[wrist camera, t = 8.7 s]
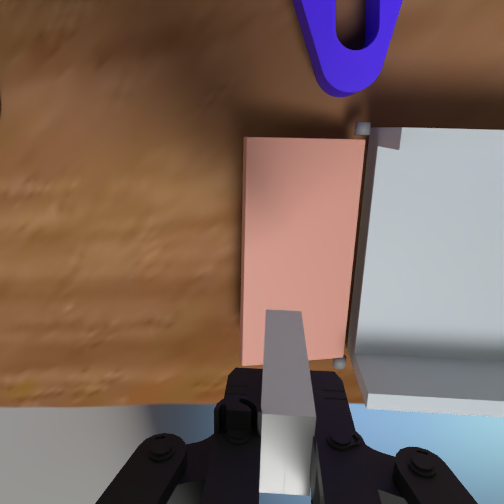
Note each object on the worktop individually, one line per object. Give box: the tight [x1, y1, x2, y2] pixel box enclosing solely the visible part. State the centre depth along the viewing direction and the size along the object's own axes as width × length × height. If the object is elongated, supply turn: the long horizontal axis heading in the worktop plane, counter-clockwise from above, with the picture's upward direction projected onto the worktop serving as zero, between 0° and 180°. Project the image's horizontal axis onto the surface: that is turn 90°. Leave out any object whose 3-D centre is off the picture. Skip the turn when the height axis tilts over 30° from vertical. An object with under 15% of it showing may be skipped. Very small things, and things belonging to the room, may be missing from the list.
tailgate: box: [240, 137, 365, 366], centre depth 30 cm, size 8×16×2 cm, turn 179°
